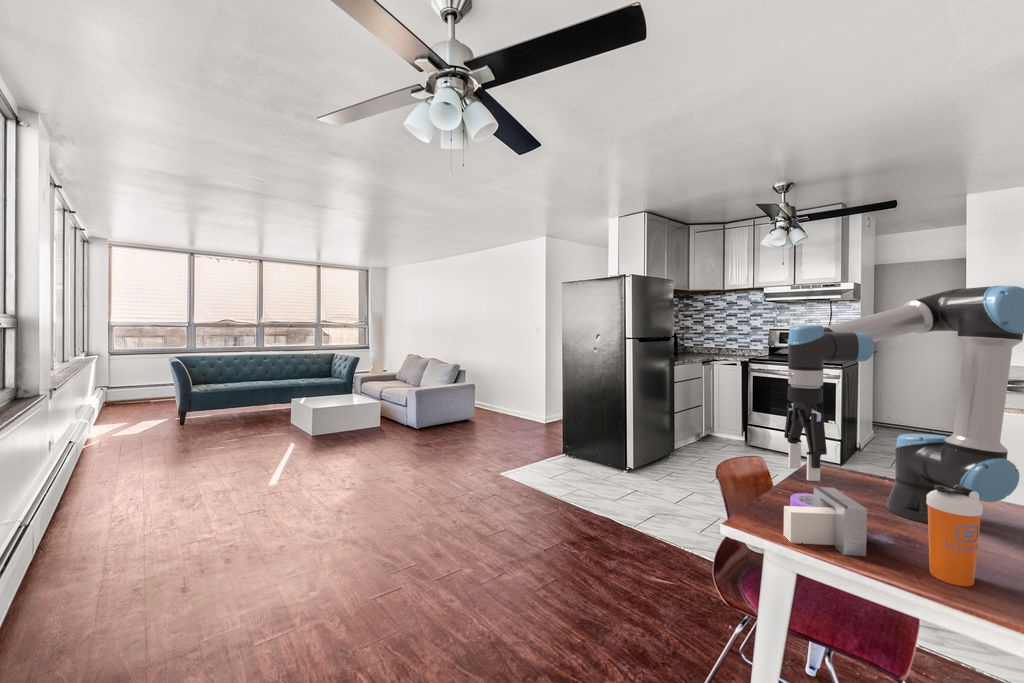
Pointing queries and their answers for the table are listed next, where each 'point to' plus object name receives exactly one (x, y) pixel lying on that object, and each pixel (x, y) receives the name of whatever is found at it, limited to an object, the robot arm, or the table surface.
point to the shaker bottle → (953, 533)
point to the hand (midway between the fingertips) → (803, 473)
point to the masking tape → (802, 500)
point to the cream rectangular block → (810, 525)
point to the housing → (845, 520)
